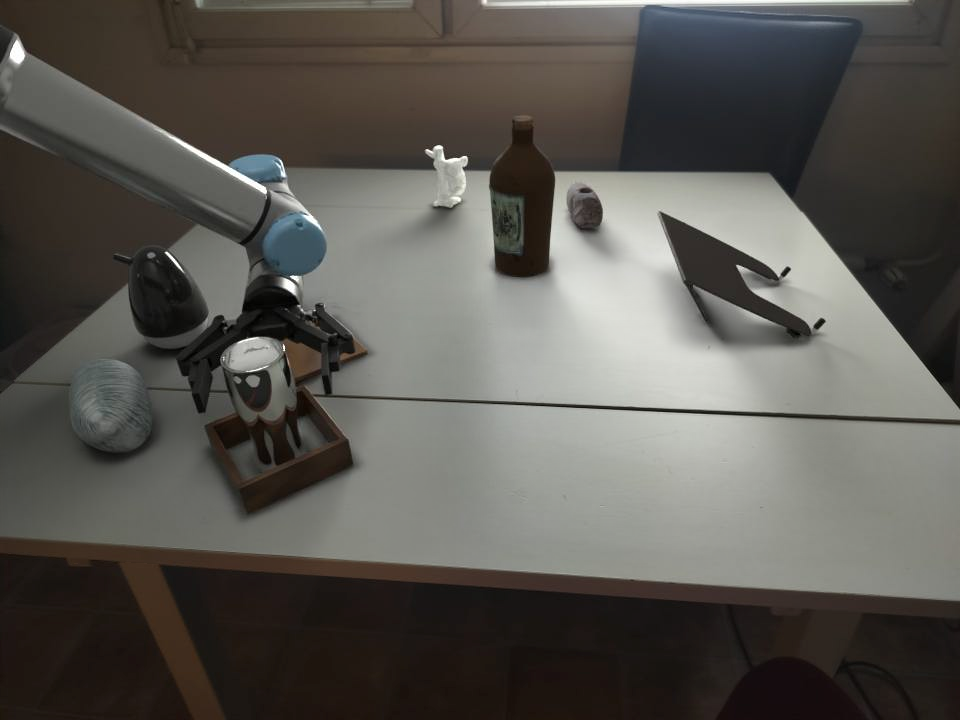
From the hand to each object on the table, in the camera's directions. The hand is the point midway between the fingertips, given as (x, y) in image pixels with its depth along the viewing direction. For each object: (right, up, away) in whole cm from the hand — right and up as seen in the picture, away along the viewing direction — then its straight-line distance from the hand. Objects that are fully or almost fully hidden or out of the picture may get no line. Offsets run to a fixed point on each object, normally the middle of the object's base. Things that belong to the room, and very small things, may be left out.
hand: (263, 394), depth 72 cm
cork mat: (-1, +5, +24) cm, 25 cm away
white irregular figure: (+17, +36, +67) cm, 78 cm away
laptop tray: (+62, +12, +31) cm, 70 cm away
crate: (0, -8, +6) cm, 10 cm away
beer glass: (0, -8, +6) cm, 10 cm away
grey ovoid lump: (-22, -5, +11) cm, 25 cm away
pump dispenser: (-22, +7, +28) cm, 36 cm away
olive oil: (+31, +20, +44) cm, 57 cm away
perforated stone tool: (+43, +31, +59) cm, 79 cm away
